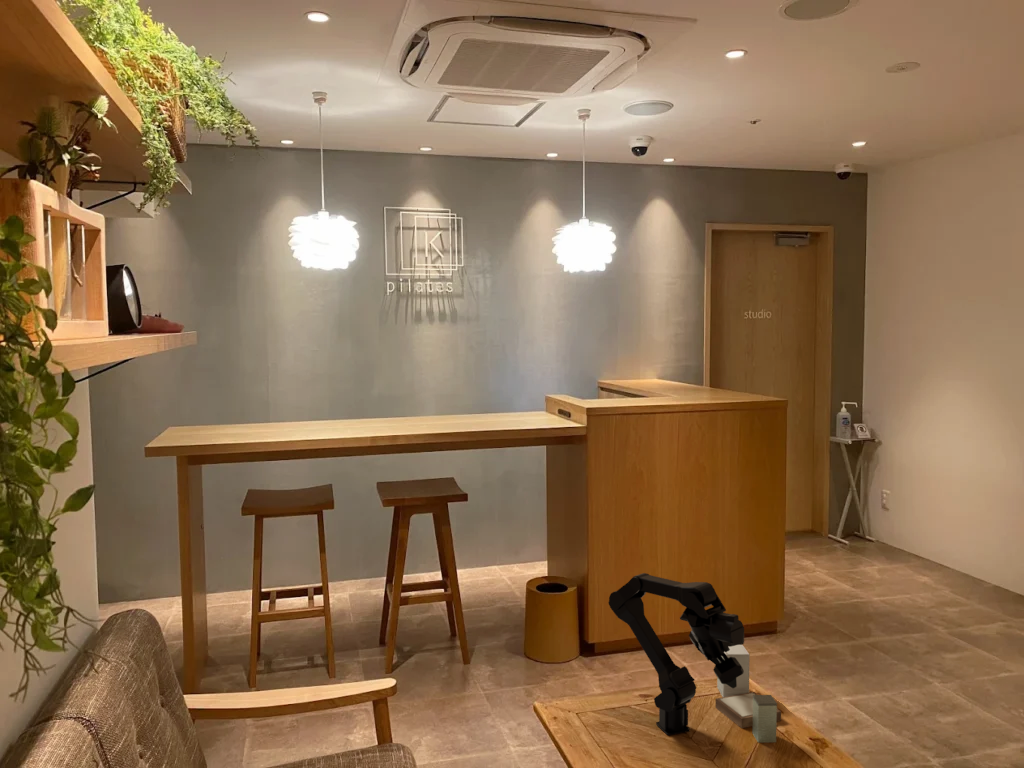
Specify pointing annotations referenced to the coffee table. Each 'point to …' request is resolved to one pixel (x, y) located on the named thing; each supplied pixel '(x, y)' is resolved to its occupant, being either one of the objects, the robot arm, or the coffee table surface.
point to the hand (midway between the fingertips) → (726, 675)
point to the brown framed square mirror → (739, 708)
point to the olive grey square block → (764, 718)
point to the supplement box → (741, 680)
